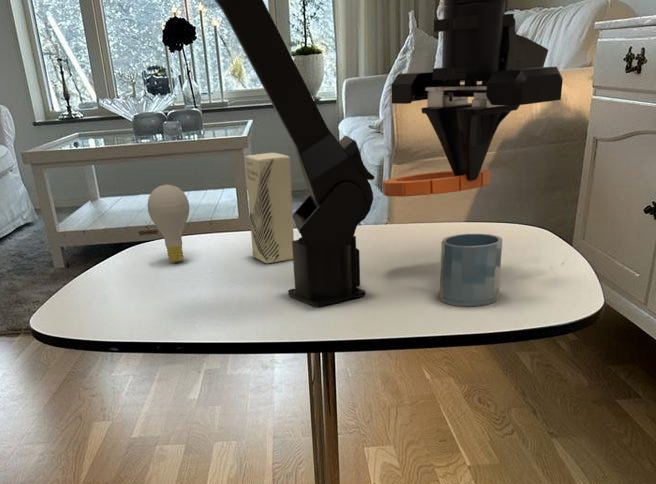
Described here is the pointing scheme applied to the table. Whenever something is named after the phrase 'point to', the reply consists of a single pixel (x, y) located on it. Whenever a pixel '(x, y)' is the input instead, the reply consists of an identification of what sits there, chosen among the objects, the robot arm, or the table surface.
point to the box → (270, 206)
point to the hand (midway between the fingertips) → (466, 179)
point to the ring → (433, 183)
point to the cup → (470, 269)
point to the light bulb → (169, 217)
